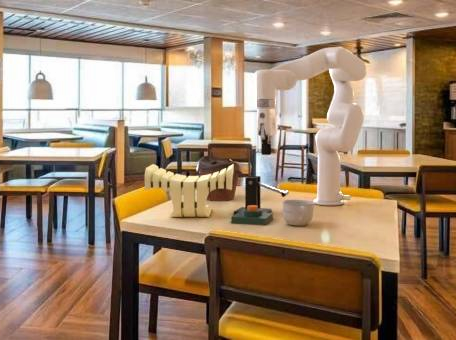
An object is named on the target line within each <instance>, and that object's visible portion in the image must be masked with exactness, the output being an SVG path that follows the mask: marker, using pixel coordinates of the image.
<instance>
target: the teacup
mask: <svg viewBox="0 0 456 340" xmlns="http://www.w3.org/2000/svg"><path fill="white" fill-rule="evenodd" d="M314 208H315V203H314V202H313V201H311V200H306V199H285V200H282V218H283V220H284V222H286V223H287V224H288V225H290V226H300V227H301V226H307V225H308V224H309V223H311V222H312V220H313V219H314V218H313V217H314Z"/></svg>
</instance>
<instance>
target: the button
mask: <svg viewBox="0 0 456 340" xmlns="http://www.w3.org/2000/svg"><path fill="white" fill-rule="evenodd" d="M247 211H258V206H257V205H249V206H247Z"/></svg>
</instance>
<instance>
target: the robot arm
mask: <svg viewBox="0 0 456 340" xmlns="http://www.w3.org/2000/svg"><path fill="white" fill-rule="evenodd" d="M326 71H329V75H330V78H331V80H332V83H333V86H334V87H333V88H334V91H333V92H334V93H333V95H332V98H331V99H332V100H331V102H330V105H329V108H328V111H327V114H326V120H327V123H328V124H329V125H331V126H325V127H321V128H320V129H319V130H318V131H317V133H316V134H315V145H316V150H317V151H316V152H317V181H316V182H317V189H316V191H317V192H316V198H315V199H313V200H312V202H314V205H319V206H327V207H328V206H329V207H330V206H331V207H333V206H341V205H343V204H344V203H345V201H351V199H352V198H351V195H349V194H343V192H342V191H341V170H342V167H341V166H342V161H341V160H342V159H341V157H340V154H339V152H340V153H341V152H342V153H348V152H351V151H352V150H353V149H354V148H355V146H356V144H357V142H358V139H359V135H360V132H361V129H362V126H363V123H364V118H365V115H364V110H363V108H362V106H360V105H359V104H357V103H354V100H355V91H354V87H353V86H352V84H351V82H359V81H362V80H363V79H365V78H366V76H367V74H368V68H367V65H366V63H365V62H364V60H363V59H361V58H360V57H359V56H357V55H356V54H354V53H353V52H352V51H350V50H349V49H347V48H345V47H343V46H333V47H323V48H321V49H318V50H316V51H313V52H312V53H310V54H308V55H305V56H303V57H300V58H297V59H294V60H290V61H288V62H285V63H282V64H278V65H276V66H274V67H272V68H269V69H257V70H255V73H254V96H255V98H254V99H255V101H254V102H255V105H254V106H255V109H257V114H256V117H257V118H256V131H257V135H258V136H259V137H260V142H261V155H262V156H271V155H272V137H273V136H275V135H276V134H277V117H276V116H277V115H276V109H277V91H290V90H292V89H294V87H295V86H296V85H297V81H304V80H309V79H312V78H314V77H316V76H318V75H320V74H322V73H325V72H326Z"/></svg>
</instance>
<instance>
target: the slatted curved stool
mask: <svg viewBox="0 0 456 340" xmlns="http://www.w3.org/2000/svg"><path fill="white" fill-rule="evenodd" d="M233 172H234V164H233V165H231V166H229V167H228V169H227V171H226V168H225V169H223V170H221V171H220V173H219V171H218V172H215V173H213V175H212V177H211V174H208V175H202V176H201V177H200V175H188V176H187V175H185V174H180V173H174V172H172V171H170V170H169V171H167V169H164V168H163V167H160V168H159V166H158V165H156V164H154V163H152V164H150V165H148V166H147V167H145V169H144V191H148V190H152V189H157V190H159V189H160V190H162V191H165V192H166V193H168V192H169V197H170V200H171V203H172V209H173V212H172V215H171V218H182V217H184V218H196V217H198V218H209V217H210V215H211V212H212V209H211V206H210V205H209V204H206V203H207V200H208V199H207V196H208V194H209V187H210V192H211V191H212V190H214V189H216V187H218V189H220V188H223V189H224V187H226V189H229V190H232V178H233ZM225 176H226V181H225ZM217 180H218V181H217Z"/></svg>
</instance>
